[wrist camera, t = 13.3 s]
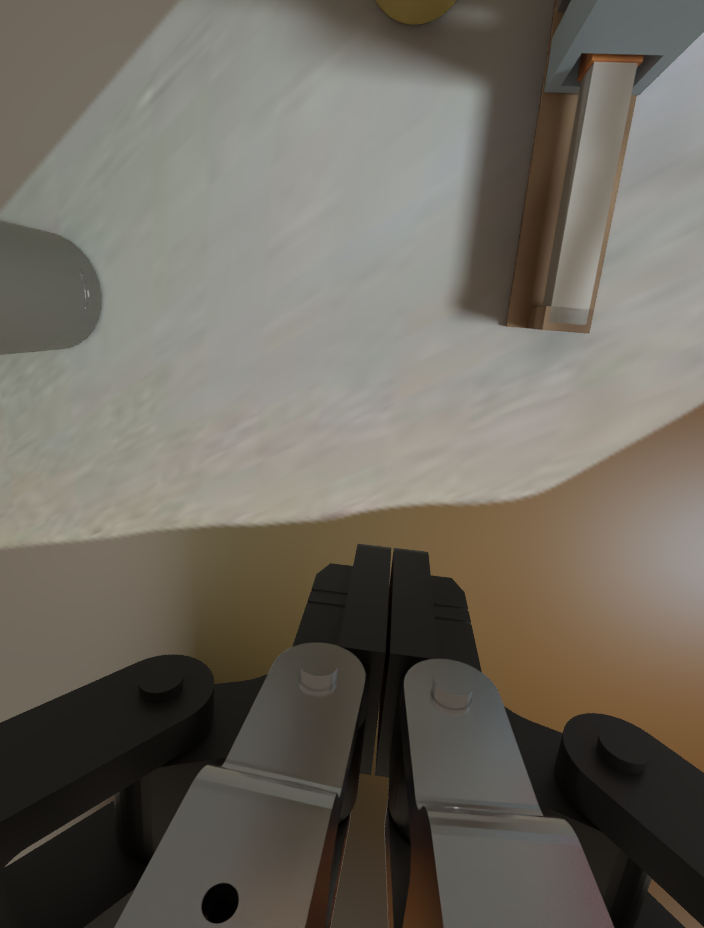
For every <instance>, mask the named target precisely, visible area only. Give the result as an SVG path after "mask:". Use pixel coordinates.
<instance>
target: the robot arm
mask: <svg viewBox="0 0 704 928" xmlns="http://www.w3.org/2000/svg"><path fill="white" fill-rule="evenodd" d="M100 311H101V290H100V284H99V281H98V278H97V275H96V272H95V270H94V268H93V267H92V265H91V263H90V261H89V260H88V258H87V257H86V256H85V255H84V254H83V252H82V251H81V250H80V249H79V248H78V247H77V246H75V245H74V244H73V243H72V242H70V241H69V240H67V239H65V238H63V237H61V236H60V235H56V234H53V233H49V232H45V231H41V230H37V229H32V228H28V227H23V226H19V225H16V224H11V223H7V222H3V221H0V355H4V354H14V353H26V352H37V351H47V350H57V349H65V348H70V347H73V346H75V345H78V344H79V343H81V342H82V341H83V340H85V339H86V338H87V337H88V336H89V335H90V334H91V332H92V331H93V330H94V328H95V326H96V324H97V322H98V320H99V315H100ZM390 561H391V548H389V547H381V546H373V545H364V544H358V545H357V550H356V555H355V560H354V565H353V566H348V565H339V564H329V565H328V566H327V567H325V568H324V569H323V570H322V571H320V572H319V573H318V574H317V575H316V578H315V581H314V584H313V587H312V591H311V593H310V596H309V599H308V603H307V605H306V608H305V611H304V614H303V617H302V620H301V623H300V626H299V629H298V632H297V635H296V638H295V641H294V644H293V647H291V648H289V649H288V650H286V651H284V652H283V653H282V654H280V655H279V657H277V659H276V660H275V661H274V663H273V665H272V667H271V669H270V671H269V673H268V674H267V675H264V676H261V677H259V678H255V679H251V680H246V681H240V682H230V683H221V684H214V678H213V675H212V672H211V671H210V669H209V668H208V666H206V665H205V664H204V663H203V662H201V661H199V660H197V659H195V658H192V657H189V656H184V655H161V656H156V657H152V658H148V659H145V660H142V661H140V662H137V663H135V664H133V665H130V666H128V667H126V668H124V669H121V670H119V671H117V672H114V673H112V674H110V675H108V676H105V677H103V678H101V679H99V680H96V681H94V682H92V683H90V684H88V685H85V686H83V687H81V688H78V689H76V690H74V691H71V692H69V693H67V694H65V695H62V696H60V697H58V698H55V699H53V700H51V701H49V702H46V703H44V704H42V705H40V706H37V707H35V708H33V709H31V710H28V711H26V712H24V713H22V714H19V715H17V716H15V717H12V718H10V719H8V720H6V721H4V722H1V723H0V928H330V927H331V921H332V916H333V911H334V905H335V900H336V895H337V889H338V884H339V879H340V873H341V868H342V862H343V857H344V852H345V846H346V841H347V836H348V830H349V825H350V816H351V811H352V809H353V808H354V805H355V803H356V799H357V793H358V784H359V775H360V773H362V774H369V775H371V770H372V761H373V753H374V744H375V736H376V728H377V720H378V711H379V720H378V721H379V722H378V737H377V753H376V768H375V769H376V770H375V775H377V776H384V777H389V790H388V792H389V793H388V803H387V810H386V818H385V852H386V880H387V904H388V928H685V927H684V926H683V925H682V924H681V923H680V922H679V921H678V920H677V919H676V918H675V917H674V916H673V915H672V914H670V913H669V912H668V911H667V910H666V909H665V908H664V907H663V906H662V905H661V904H660V903H659V902H658V901H657V900H656V899H655V898H654V897H653V896H651V894H650V893H649V892H648V888H649V885H650V882H651V880H652V879H653V880H654V881H655V882H656V883H657V884H658V885H659V886H661V887H662V888H663V889H664V890H665V891H666V892H667V893H668V894H669V895H670V896H671V897H672V898H674V900H676V901H677V902H678V903H679V904H680V905H681V906H682V907H683V908H684V909H685V910H686V911H687V912H688V913H689V914H690V915H692V916H693V917H694V918H695V919H696V920H697V921H698V922H699V923H700V924H701V925H702V926H703V927H704V773H703V772H702V771H700V770H699V769H697V768H696V767H695V766H693V765H692V764H690V763H689V762H688V761H686V760H685V759H683V758H682V757H681V756H679V755H678V754H676V753H675V752H674V751H672V750H671V749H669V748H668V747H667V746H665V745H664V744H662V743H661V742H660V741H658V740H657V739H655V738H654V737H653V736H651V735H650V734H648V733H647V732H645V731H644V730H642V729H641V728H639V727H637V726H635V725H633V724H631V723H629V722H626V721H624V720H622V719H619V718H616V717H613V716H609V715H604V714H595V713H587V714H581V715H578V716H575V717H573V718H572V719H570V720H569V721H568V722H567V724H566V725H565V727H564V730H563V733H561V732H558V731H555V730H553V729H550V728H548V727H545V726H542V725H540V724H537V723H534V722H532V721H529V720H527V719H525V718H523V717H521V716H519V715H517V714H515V713H513V712H512V711H510V710H509V709H508V708H506V707H505V706H504V705H503V702H502V700H501V697H500V694H499V692H498V690H497V688H496V686H495V685H494V684H493V682H492V681H491V680H490V679H489V678H488V677H486V676H485V675H484V674H483V673H482V671H481V667H480V662H479V658H478V653H477V648H476V644H475V639H474V634H473V630H472V625H471V620H470V616H469V612H468V606H467V602H466V597H465V593H464V591H463V590H462V589H461V588H460V587H459V586H458V585H457V584H456V582H455V581H454V580H453V579H452V578H448V577H439V576H431V575H430V565H429V555H428V552H424V551H415V550H407V549H399V548H394V552H393V559H392V567H391V576H390ZM389 579H390V584H389ZM379 703H380V704H379ZM111 796H113V798H114V801H112V802H111V803H109V804H107V805H106V806H104V807H103V808H101V809H99V810H98V811H96V812H94V813H93V814H91V815H90V816H88V817H86V818H85V819H83V820H81V821H80V822H78V823H77V824H75V825H73V826H72V827H70V828H68V829H67V830H65V831H64V832H62V833H60V834H59V835H57V836H56V837H54V838H52V839H51V840H49V841H47V842H46V843H44V844H43V845H41V846H40V847H38V848H36V849H34V850H33V851H31V852H29V853H28V854H26V855H25V856H23V857H21V858H20V859H18V860H17V861H15V862H13V863H12V864H10V865H8V866H6V864H8V863H9V862H10V861H11V860H12V859H13V858H14V857H15V856H16V855H17V854H19V853H20V852H21V851H23V850H24V849H26V848H27V847H29V846H30V845H32V844H34V843H35V842H37V841H39V840H40V839H42V838H43V837H45V836H47V835H49V834H50V833H52V832H53V831H55V830H57V829H58V828H60V827H62V826H63V825H65V824H67V823H68V822H70V821H71V820H73V819H75V818H76V817H78V816H80V815H81V814H83V813H85V812H86V811H88V810H90V809H91V808H93V807H95V806H96V805H98V804H99V803H101V802H103V801H105V800H106V799H108V798H109V797H111ZM5 866H6V867H5ZM4 867H5V868H4Z"/></svg>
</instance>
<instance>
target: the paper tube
mask: <svg viewBox="0 0 704 928" xmlns="http://www.w3.org/2000/svg"><path fill="white" fill-rule="evenodd" d="M375 1H376V2H377V4H378V5H379V7H380V8H381V9H382V10H383V11H384V12H385V13H386V14H387V15H388V16H389V17H391V18H393V19H394V20H396V21H398V22H401V23H405V24H412V25H416V24H424V23H427V22H430V21H433V20H435V19H437V18H438V17H440V16H442V15H443V14H444V13H446V12H447V11H448V10H449V9H450V8H451V7H452V6H453V5H454V3H455V2H456V1H457V0H375Z"/></svg>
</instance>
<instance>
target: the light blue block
mask: <svg viewBox="0 0 704 928" xmlns="http://www.w3.org/2000/svg"><path fill="white" fill-rule="evenodd" d="M703 32H704V0H571V1H570V3H569V5H568V7H567V9H566V11H565V13H564V15H563V17H562V19H561V21H560V23H559V25H558V27H557V29H556V31H555V33H554V35H553V37H552V43H551V50H550V56H549V63H548V69H547V76H546V82H545V89H544V92H553V93H579V90H580V84H581V81H577V78H578V72H579V66H580V60H581V54H582V53H595V54H632V55H644V58H643V62H642V63H641V64H640V65H639V66H638V67H637V69H636V74H635V79H634V84H633V89H632V94H631V95H640V94H641V93H642V92H643V91H644V90H645V89H646V88H647V87H648V86H649V85H650V84H651V83H652V82H653V81H654V80H655V79H656V78H657V77H658V76H659V75H660V74H661V73H662V72H663V71H664V70H665V69H666V68H667V67H668V66H669V65H670V64H671V63H672V62H673V61H674V60H675V59H676V58H677V57H679V56H680V55H681V54H682V53H683V52H684V51H685V50H686V49H687V48H688V47H689V46H690V45H691V44H692V43H693V42H694V41H695V40H696V39H697V38H698V37H699V36H700V35H701V34H702V33H703Z"/></svg>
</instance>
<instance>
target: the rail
mask: <svg viewBox="0 0 704 928" xmlns="http://www.w3.org/2000/svg"><path fill="white" fill-rule="evenodd" d="M570 1H571V0H556V1H555V7H554V14H553V21H552V27H551V34H550V40H549V47H548V53H547V60H546V66H545V73H544V80H543V86H542V93H541V99H540V106H539V112H538V119H537V125H536V132H535V139H534V145H533V152H532V158H531V165H530V171H529V178H528V184H527V191H526V198H525V204H524V211H523V217H522V224H521V230H520V237H519V243H518V250H517V257H516V263H515V270H514V276H513V283H512V289H511V296H510V302H509V309H508V315H507V322H506V326H507V327H520V328H531V329H540V330H552V331H565V332H579V333H590V328H591V322H592V317H593V312H594V307H595V302H596V297H597V292H598V287H599V282H600V277H601V272H602V267H603V262H604V257H605V252H606V247H607V242H608V237H609V232H610V227H611V222H612V217H613V212H614V207H615V202H616V197H617V192H618V187H619V182H620V177H621V172H622V166H623V161H624V156H625V151H626V146H627V141H628V136H629V131H630V126H631V121H632V116H633V111H634V106H635V101H636V96H637V95H631V94H632V89H633V84H634V79H635V74H636V69H637V67H638V66H639V65H640V64H641V63H642V62H643V58H644V55H632V54H595V53H582V54H581V60H580V66H579V72H578V78H577V81H581V84H580V90H579V93H553V92H544V89H545V82H546V76H547V69H548V63H549V56H550V50H551V43H552V37H553V35H554V33H555V31H556V29H557V27H558V25H559V23H560V21H561V19H562V17H563V15H564V13H565V11H566V9H567V7H568V5H569V3H570Z"/></svg>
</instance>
